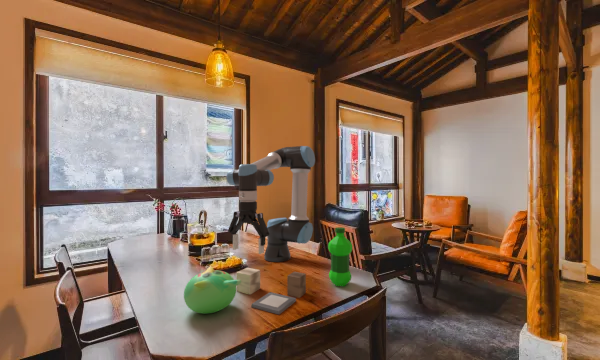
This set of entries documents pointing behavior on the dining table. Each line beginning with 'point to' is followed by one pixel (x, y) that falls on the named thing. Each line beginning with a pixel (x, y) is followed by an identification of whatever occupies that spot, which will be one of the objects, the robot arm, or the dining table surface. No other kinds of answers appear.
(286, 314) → the dining table surface
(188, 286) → the round green bird figurine
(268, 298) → the slate pad
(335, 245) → the plastic bottle
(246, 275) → the maple block
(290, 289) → the walnut block
